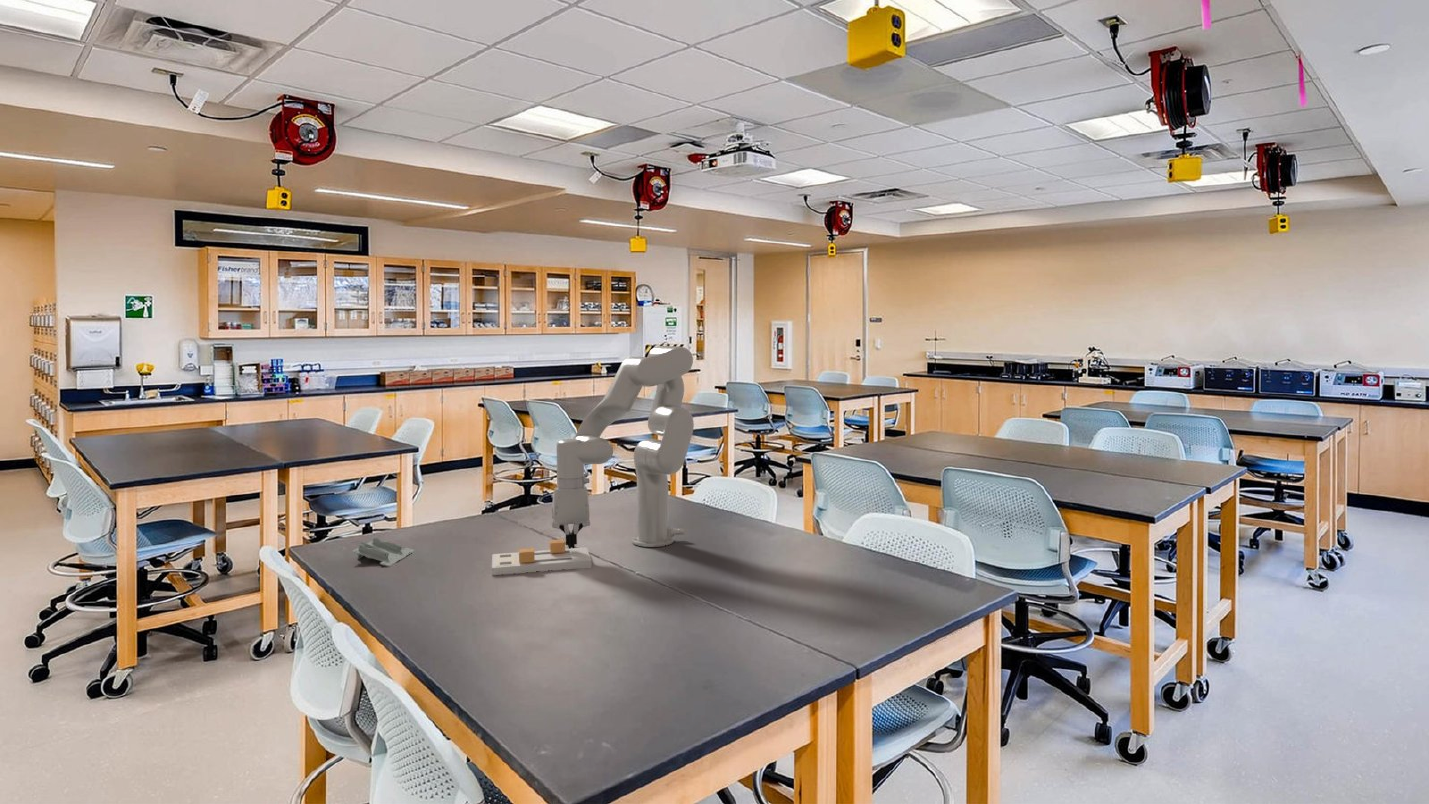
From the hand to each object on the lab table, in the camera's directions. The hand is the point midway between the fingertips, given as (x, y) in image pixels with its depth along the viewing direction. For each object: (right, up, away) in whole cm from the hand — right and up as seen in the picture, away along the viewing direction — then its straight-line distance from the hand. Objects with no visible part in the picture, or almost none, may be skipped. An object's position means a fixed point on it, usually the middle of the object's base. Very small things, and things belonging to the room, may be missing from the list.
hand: (571, 547), depth 216 cm
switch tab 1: (-10, -2, -10) cm, 14 cm away
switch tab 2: (-4, -1, -1) cm, 4 cm away
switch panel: (-7, -4, -5) cm, 10 cm away
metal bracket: (-54, -4, 0) cm, 54 cm away
